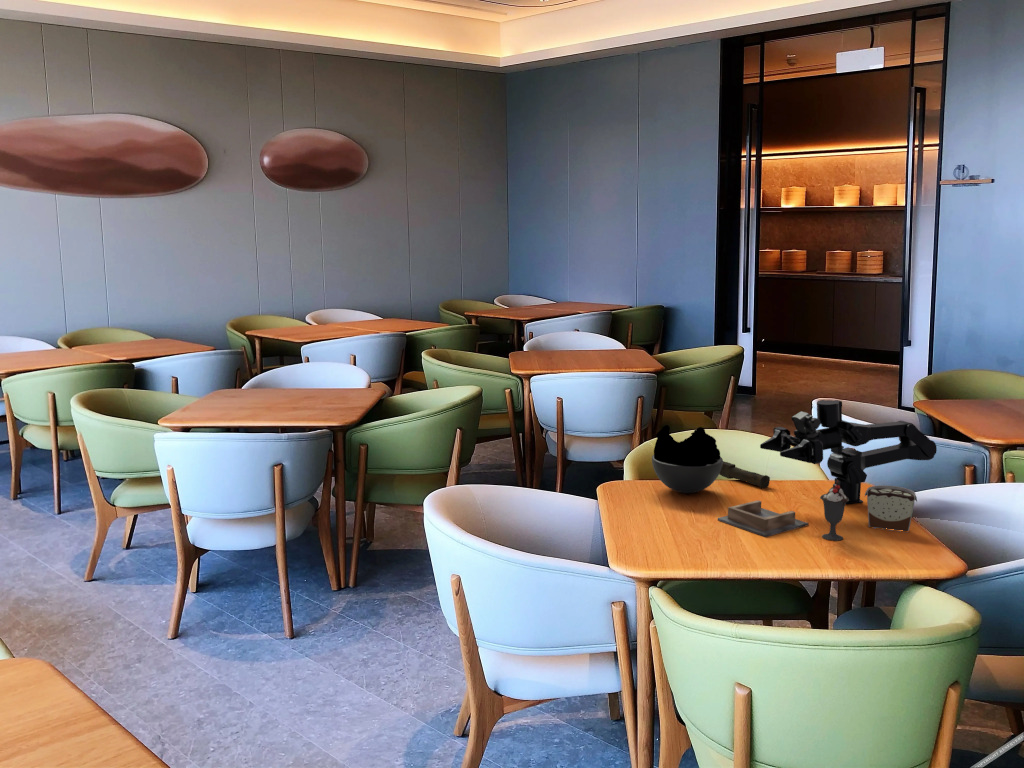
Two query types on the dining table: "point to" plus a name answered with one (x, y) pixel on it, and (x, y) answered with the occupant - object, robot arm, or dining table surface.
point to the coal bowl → (686, 461)
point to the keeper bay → (761, 519)
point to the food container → (890, 507)
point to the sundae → (834, 510)
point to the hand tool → (744, 475)
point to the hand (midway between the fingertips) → (770, 450)
